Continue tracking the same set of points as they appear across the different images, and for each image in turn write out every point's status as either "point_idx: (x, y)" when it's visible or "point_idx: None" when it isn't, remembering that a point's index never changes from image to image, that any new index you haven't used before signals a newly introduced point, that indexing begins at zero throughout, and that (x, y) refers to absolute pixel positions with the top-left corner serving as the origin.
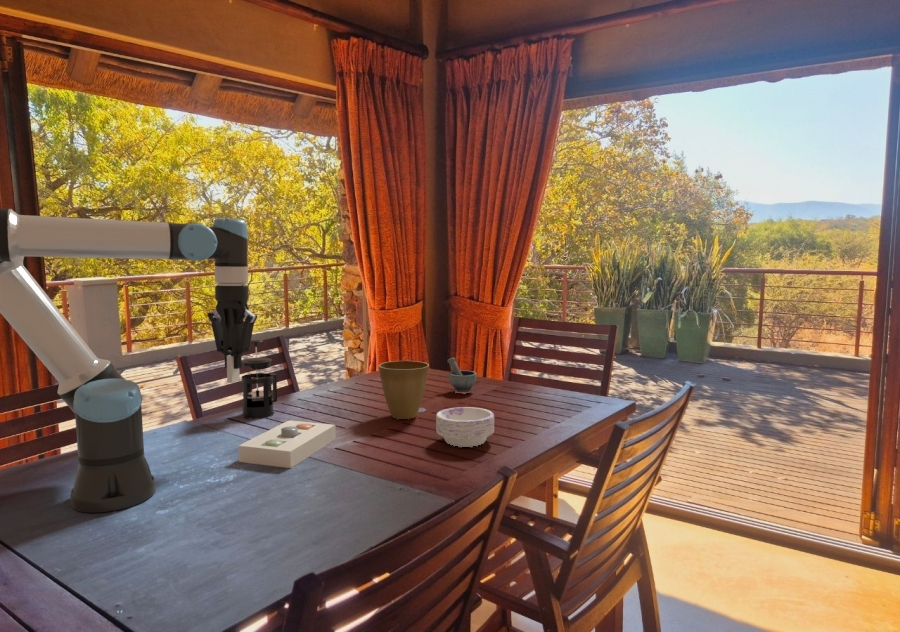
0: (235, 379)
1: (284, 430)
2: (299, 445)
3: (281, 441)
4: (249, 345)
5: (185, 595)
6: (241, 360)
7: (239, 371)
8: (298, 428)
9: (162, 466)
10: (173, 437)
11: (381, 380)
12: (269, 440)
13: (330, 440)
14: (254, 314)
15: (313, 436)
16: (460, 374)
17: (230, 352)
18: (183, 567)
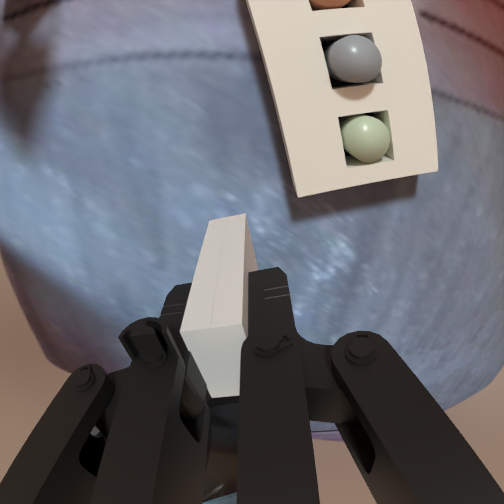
0: (253, 254)
1: (357, 77)
2: (432, 126)
3: (383, 126)
4: (421, 388)
5: (454, 393)
6: (290, 302)
7: (244, 239)
8: (332, 4)
9: (175, 278)
10: (28, 168)
11: None
12: (349, 134)
13: None
14: None
15: (418, 50)
16: None
17: (195, 386)
18: (436, 385)
